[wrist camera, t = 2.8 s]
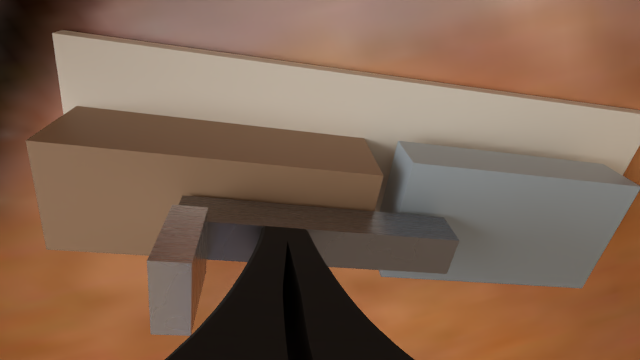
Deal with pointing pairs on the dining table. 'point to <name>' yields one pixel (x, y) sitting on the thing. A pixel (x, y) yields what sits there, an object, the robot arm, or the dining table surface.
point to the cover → (510, 212)
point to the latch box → (264, 135)
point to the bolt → (321, 222)
